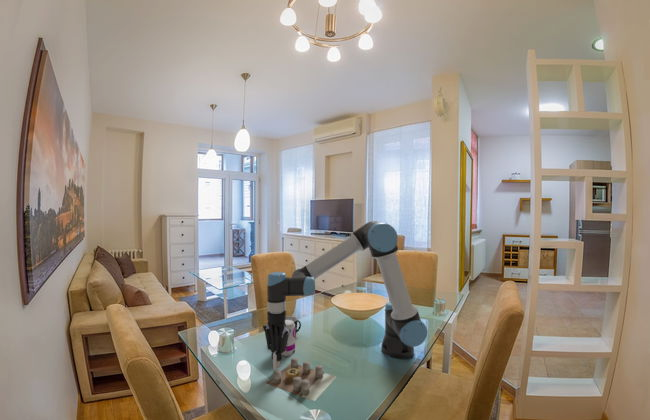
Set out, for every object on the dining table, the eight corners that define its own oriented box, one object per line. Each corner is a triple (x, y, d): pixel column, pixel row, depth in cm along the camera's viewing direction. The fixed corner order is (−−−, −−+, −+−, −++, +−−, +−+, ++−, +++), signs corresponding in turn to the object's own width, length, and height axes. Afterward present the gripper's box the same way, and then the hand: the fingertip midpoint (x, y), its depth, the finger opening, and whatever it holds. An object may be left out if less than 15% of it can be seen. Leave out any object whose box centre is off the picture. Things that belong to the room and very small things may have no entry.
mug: (285, 344, 147) (285, 324, 147) (277, 337, 154) (277, 318, 154) (305, 337, 155) (305, 318, 155) (296, 331, 162) (296, 313, 162)
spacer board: (336, 379, 117) (336, 366, 117) (314, 404, 102) (314, 390, 102) (291, 365, 127) (291, 353, 127) (265, 386, 113) (265, 372, 113)
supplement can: (295, 349, 142) (295, 318, 142) (294, 358, 134) (294, 325, 133) (278, 349, 141) (278, 318, 141) (276, 358, 133) (276, 325, 133)
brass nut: (300, 375, 117) (300, 369, 117) (293, 382, 113) (293, 376, 113) (292, 372, 120) (291, 366, 119) (284, 379, 115) (284, 372, 115)
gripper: (295, 310, 120) (294, 367, 120) (270, 305, 126) (270, 359, 127) (283, 316, 113) (283, 376, 114) (258, 310, 120) (258, 367, 120)
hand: (276, 367), depth 120 cm, fingers closed
